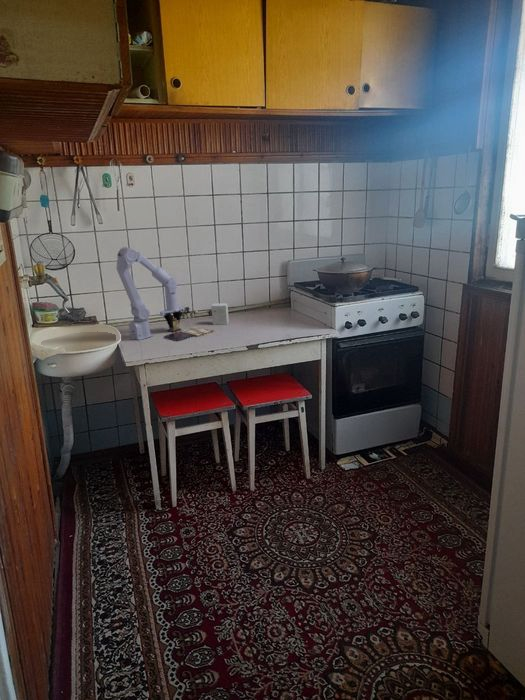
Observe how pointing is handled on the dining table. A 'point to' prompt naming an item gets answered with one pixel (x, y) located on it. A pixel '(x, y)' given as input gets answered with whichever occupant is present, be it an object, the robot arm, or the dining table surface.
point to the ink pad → (178, 336)
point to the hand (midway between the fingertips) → (174, 326)
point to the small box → (220, 313)
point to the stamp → (175, 326)
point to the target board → (196, 331)
